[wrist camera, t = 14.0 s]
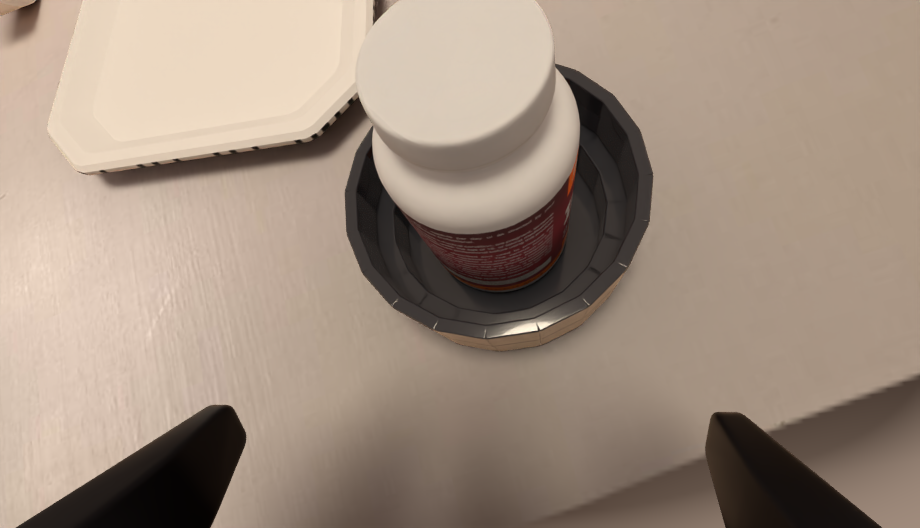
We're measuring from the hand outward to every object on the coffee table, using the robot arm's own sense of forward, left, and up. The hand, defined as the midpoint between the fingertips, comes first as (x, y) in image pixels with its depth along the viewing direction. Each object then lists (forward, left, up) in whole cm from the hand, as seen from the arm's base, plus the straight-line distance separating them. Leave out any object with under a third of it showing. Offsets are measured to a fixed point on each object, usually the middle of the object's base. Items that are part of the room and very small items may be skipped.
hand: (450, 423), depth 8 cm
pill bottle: (+8, -1, -11) cm, 13 cm away
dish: (+8, -1, -11) cm, 14 cm away
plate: (+25, +14, -11) cm, 31 cm away
